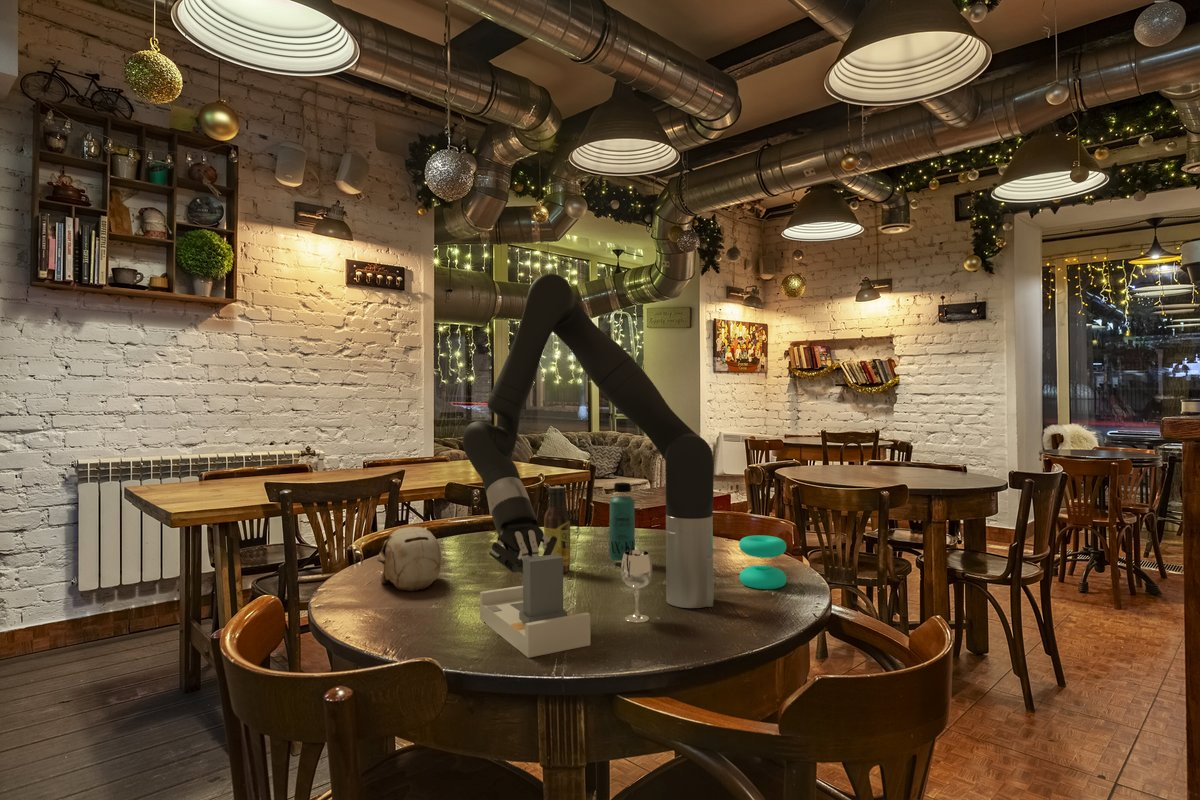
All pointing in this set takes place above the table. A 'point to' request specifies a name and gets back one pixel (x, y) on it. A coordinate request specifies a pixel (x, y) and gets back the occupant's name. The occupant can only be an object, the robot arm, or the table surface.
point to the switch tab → (542, 588)
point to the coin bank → (410, 559)
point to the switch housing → (531, 624)
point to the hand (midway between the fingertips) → (538, 589)
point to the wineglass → (636, 577)
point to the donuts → (763, 574)
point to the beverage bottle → (621, 523)
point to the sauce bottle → (558, 524)
